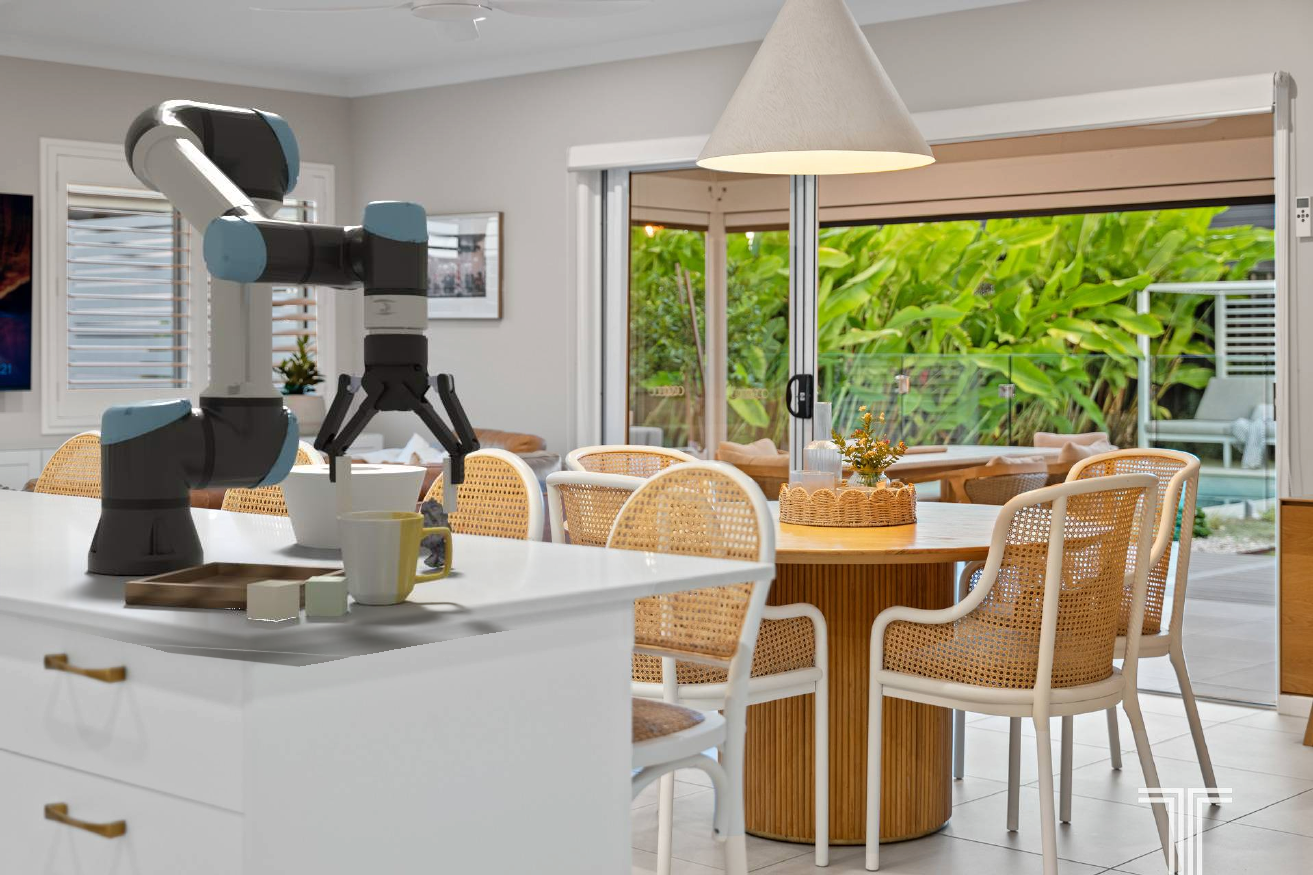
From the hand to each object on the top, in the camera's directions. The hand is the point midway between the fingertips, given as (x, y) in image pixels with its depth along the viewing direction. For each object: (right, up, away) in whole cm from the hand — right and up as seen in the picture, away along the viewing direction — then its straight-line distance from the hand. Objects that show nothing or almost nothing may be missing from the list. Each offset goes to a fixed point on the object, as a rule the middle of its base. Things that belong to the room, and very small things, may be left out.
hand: (396, 511), depth 173 cm
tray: (-19, -10, +4) cm, 22 cm away
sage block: (-6, -11, -8) cm, 15 cm away
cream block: (-11, -11, -12) cm, 20 cm away
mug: (0, -11, +1) cm, 11 cm away
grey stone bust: (0, -10, +32) cm, 33 cm away
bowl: (-18, -8, +61) cm, 64 cm away
